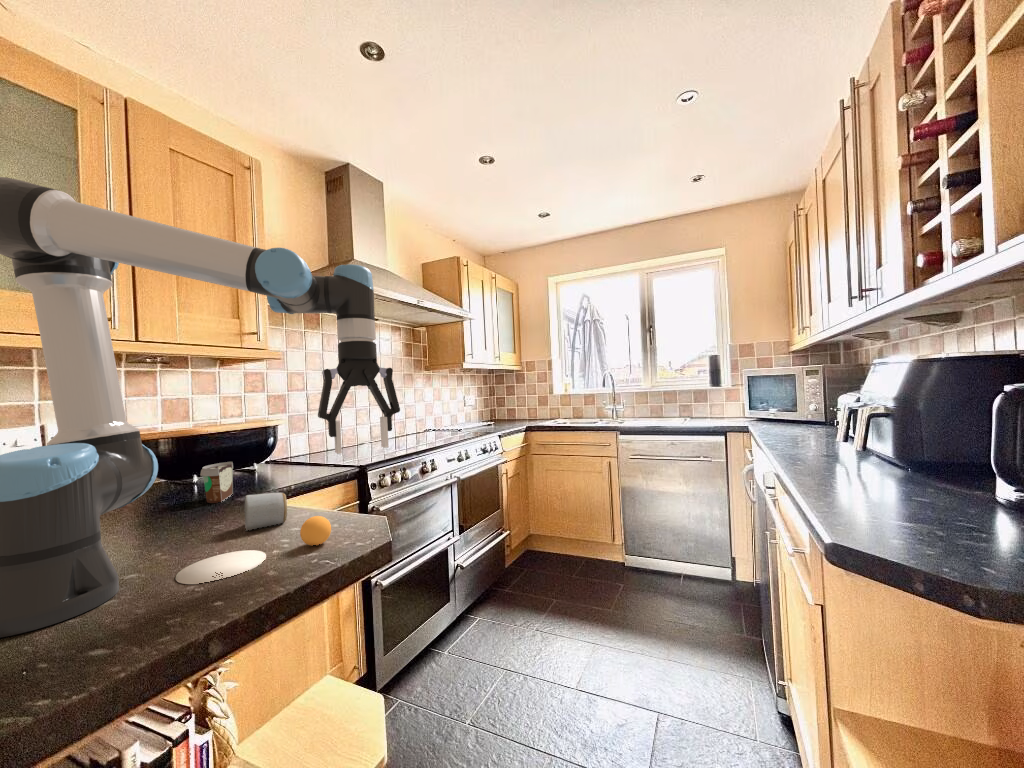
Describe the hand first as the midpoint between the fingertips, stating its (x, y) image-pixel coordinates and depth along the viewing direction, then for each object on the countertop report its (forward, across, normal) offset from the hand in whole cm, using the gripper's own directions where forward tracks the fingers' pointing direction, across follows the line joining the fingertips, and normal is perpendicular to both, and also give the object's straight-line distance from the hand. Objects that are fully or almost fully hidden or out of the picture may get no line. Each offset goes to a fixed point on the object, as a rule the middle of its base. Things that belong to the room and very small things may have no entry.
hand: (362, 449), depth 86 cm
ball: (+15, +10, 0) cm, 17 cm away
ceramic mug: (+18, +18, -22) cm, 33 cm away
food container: (+18, +28, -61) cm, 70 cm away
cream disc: (+17, +24, 0) cm, 30 cm away
